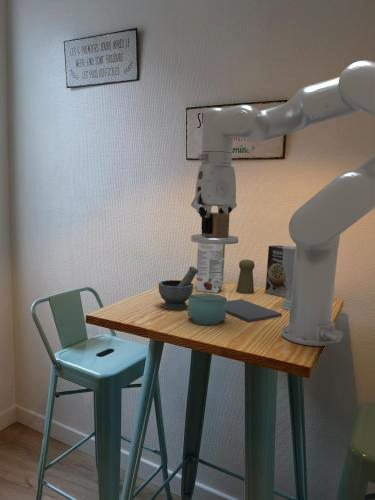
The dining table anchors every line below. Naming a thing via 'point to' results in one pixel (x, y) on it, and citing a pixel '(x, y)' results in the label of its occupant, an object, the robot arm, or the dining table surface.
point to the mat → (249, 311)
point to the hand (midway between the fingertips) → (213, 232)
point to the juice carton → (210, 267)
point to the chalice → (288, 271)
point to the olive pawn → (246, 277)
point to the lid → (217, 231)
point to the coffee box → (276, 273)
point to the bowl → (207, 308)
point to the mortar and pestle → (177, 290)
